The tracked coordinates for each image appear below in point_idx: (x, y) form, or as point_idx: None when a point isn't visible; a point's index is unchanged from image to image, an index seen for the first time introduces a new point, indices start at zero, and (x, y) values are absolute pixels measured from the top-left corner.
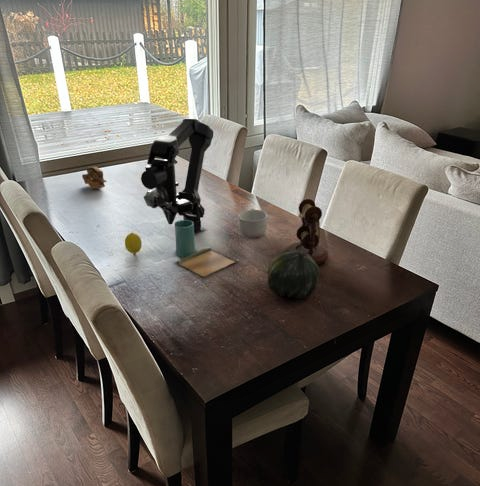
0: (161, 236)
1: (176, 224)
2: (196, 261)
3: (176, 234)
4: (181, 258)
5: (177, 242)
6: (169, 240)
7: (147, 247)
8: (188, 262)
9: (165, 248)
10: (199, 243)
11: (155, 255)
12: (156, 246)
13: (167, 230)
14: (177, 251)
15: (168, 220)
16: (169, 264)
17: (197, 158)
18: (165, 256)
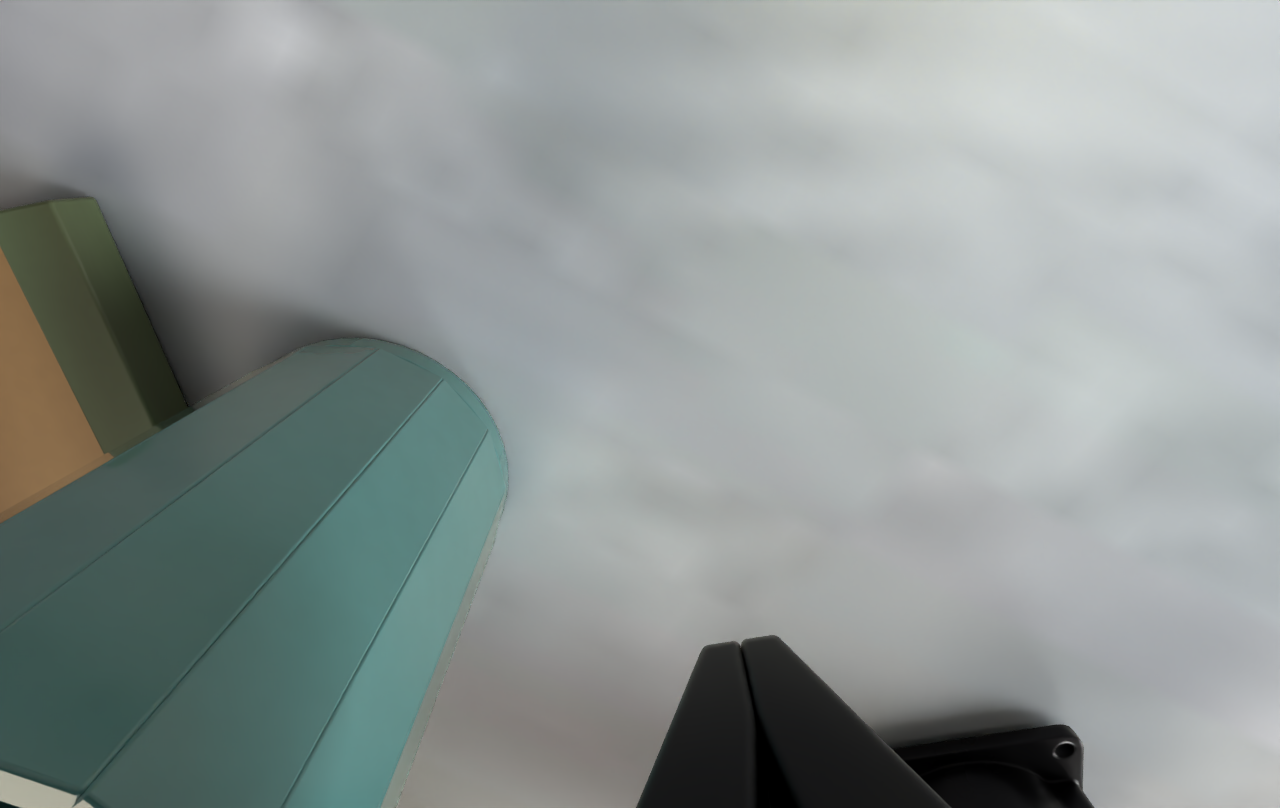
0: (1107, 424)
1: (160, 788)
2: (21, 458)
3: (67, 509)
4: (81, 297)
5: (194, 418)
6: (896, 460)
7: (914, 26)
8: (22, 350)
9: (683, 284)
10: (556, 722)
11: (535, 7)
12: (843, 189)
13: (1212, 583)
14: (330, 354)
15: (742, 726)
16: (101, 68)
17: None
18: (413, 148)
